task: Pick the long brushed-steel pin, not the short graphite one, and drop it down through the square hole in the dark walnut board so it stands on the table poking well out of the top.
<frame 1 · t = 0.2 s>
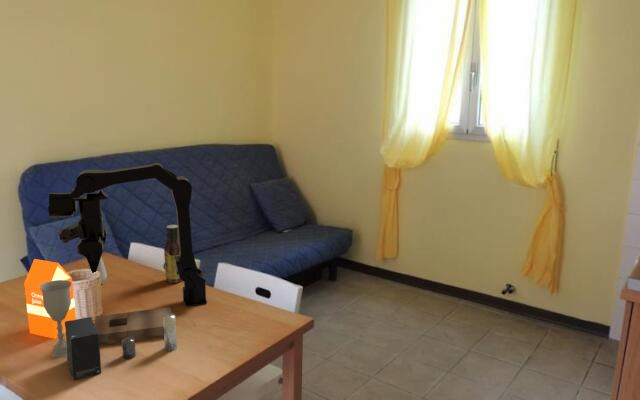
hand: (95, 266, 146), 15 cm above the table, tool pointing down, fingers open, 9 cm apart
long pin: (170, 348, 130), on the table
pin board: (134, 330, 139), on the table
chalice: (62, 353, 127), on the table
sauce bottle: (175, 281, 175), on the table
orange juice: (53, 330, 138), on the table
salt shaker: (98, 283, 172), on the table
short pin: (129, 356, 125), on the table
small box: (84, 367, 120), on the table
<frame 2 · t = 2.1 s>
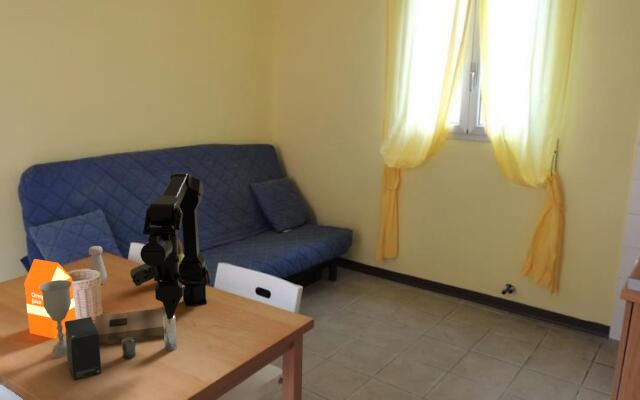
hand: (168, 310, 127), 10 cm above the table, tool pointing down, fingers open, 9 cm apart
nothing on the table moved.
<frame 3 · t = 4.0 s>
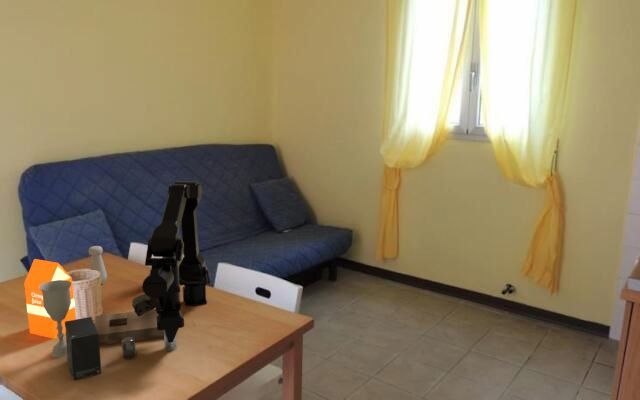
hand: (170, 339, 129), 3 cm above the table, tool pointing down, fingers closed on long pin, 3 cm apart
long pin: (170, 348, 130), on the table, touching gripper
everything else where it was.
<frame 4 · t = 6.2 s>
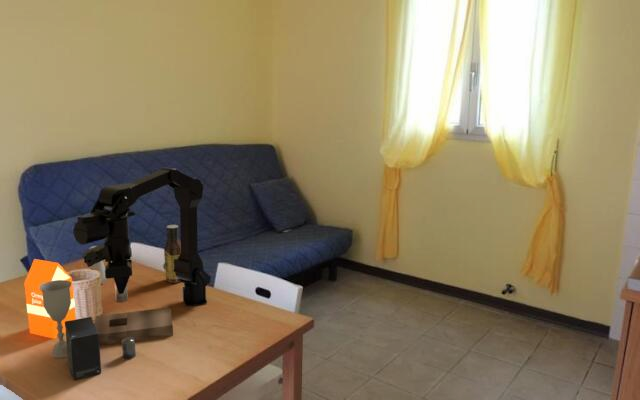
hand: (121, 291, 134), 13 cm above the table, tool pointing down, fingers closed on long pin, 3 cm apart
long pin: (121, 300, 134), point 10 cm above the table, touching gripper
everything else where it was.
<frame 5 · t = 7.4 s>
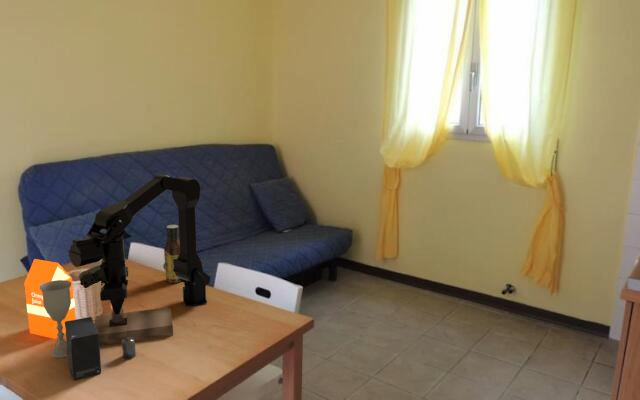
hand: (117, 311, 136), 6 cm above the table, tool pointing down, fingers closed on long pin, 3 cm apart
long pin: (117, 320, 137), point 4 cm above the table, touching gripper
everything else where it was.
when the fingers open (4 cm above the table, at t = 8.3 s): long pin drops 1 cm, resting in pin board.
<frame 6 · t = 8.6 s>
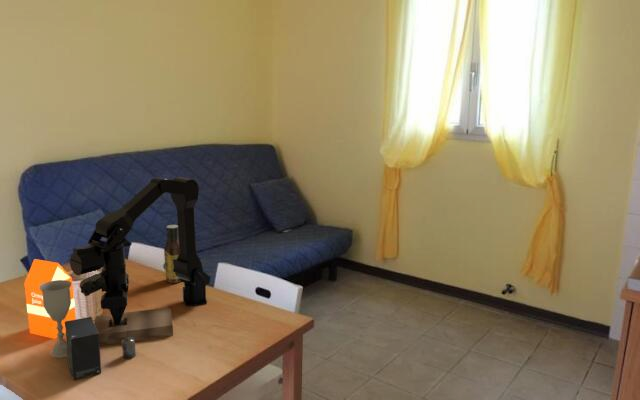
hand: (117, 319, 136), 4 cm above the table, tool pointing down, fingers open, 6 cm apart
long pin: (118, 332, 137), resting in pin board
everything else where it was.
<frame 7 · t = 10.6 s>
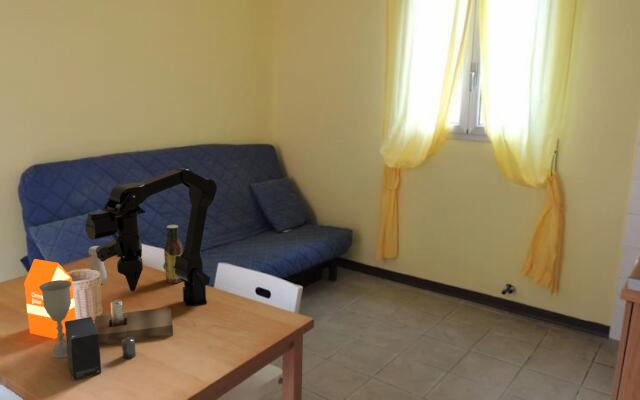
hand: (132, 284, 141), 12 cm above the table, tool pointing down, fingers open, 9 cm apart
nothing on the table moved.
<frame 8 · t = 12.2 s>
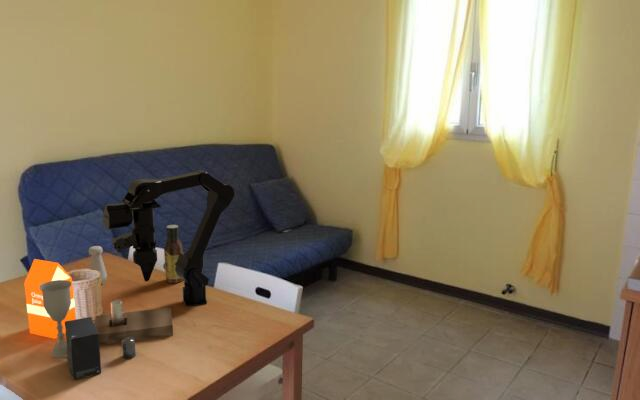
hand: (146, 275, 147), 12 cm above the table, tool pointing down, fingers open, 9 cm apart
nothing on the table moved.
at the end: long pin 0.0 cm from the target spot on the pin board, point 0.0 cm above the pin board's base; long pin tilted 0°; short pin moved 0.0 cm from its start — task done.
